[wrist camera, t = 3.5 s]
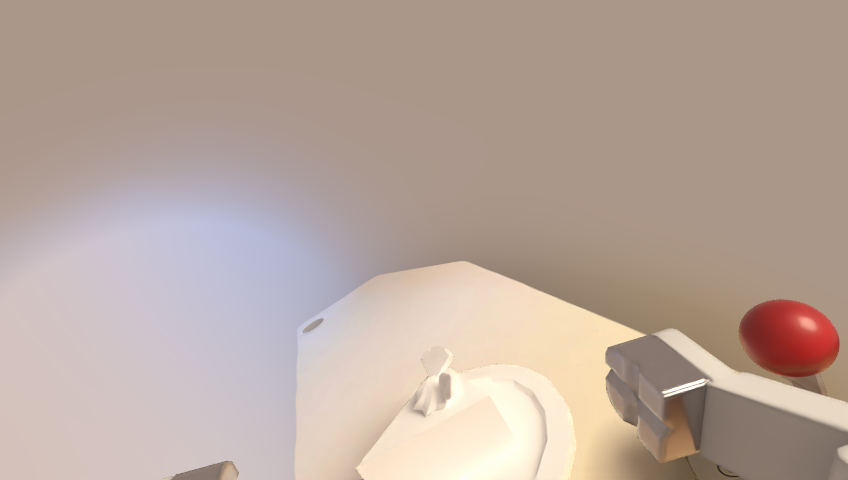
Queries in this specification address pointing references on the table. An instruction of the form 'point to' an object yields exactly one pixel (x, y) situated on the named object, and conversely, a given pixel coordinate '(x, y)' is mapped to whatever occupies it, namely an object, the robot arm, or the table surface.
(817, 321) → the red ball lever
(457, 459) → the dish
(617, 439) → the table surface
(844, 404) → the robot arm
